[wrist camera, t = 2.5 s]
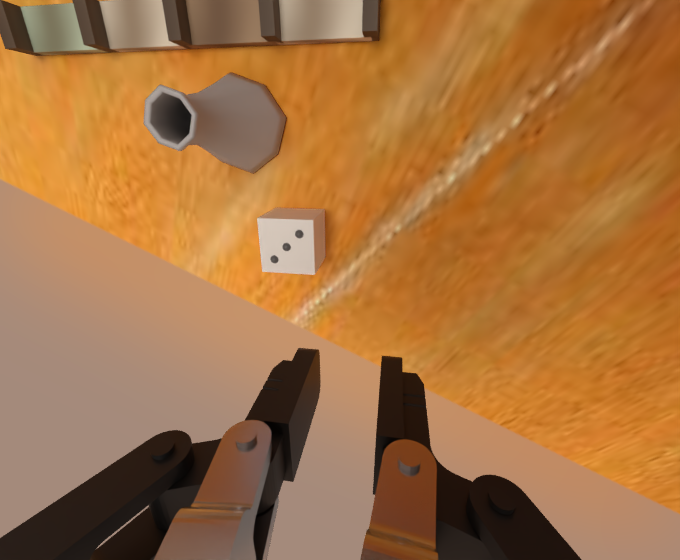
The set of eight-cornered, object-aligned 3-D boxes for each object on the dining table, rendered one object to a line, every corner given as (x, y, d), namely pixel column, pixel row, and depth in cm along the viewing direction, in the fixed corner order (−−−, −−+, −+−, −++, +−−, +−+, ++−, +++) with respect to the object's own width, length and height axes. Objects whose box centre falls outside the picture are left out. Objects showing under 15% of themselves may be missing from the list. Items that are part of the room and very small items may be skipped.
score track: (381, -12, 23) (379, -28, 21) (379, 40, 24) (377, 30, 22) (22, 12, 27) (-11, 0, 25) (35, 55, 28) (5, 48, 26)
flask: (257, 188, 30) (196, 209, 21) (189, 134, 29) (93, 132, 20) (302, 115, 27) (253, 103, 18) (228, 54, 26) (136, 7, 17)
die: (324, 208, 29) (312, 220, 25) (325, 260, 31) (314, 279, 27) (272, 207, 30) (251, 218, 26) (276, 257, 32) (257, 276, 28)
